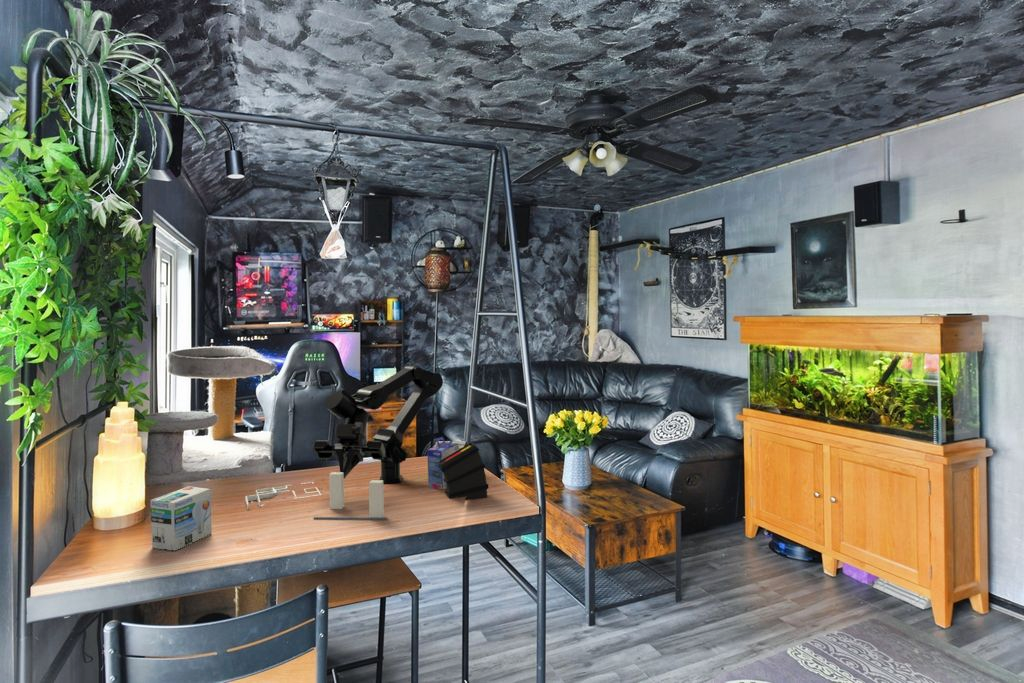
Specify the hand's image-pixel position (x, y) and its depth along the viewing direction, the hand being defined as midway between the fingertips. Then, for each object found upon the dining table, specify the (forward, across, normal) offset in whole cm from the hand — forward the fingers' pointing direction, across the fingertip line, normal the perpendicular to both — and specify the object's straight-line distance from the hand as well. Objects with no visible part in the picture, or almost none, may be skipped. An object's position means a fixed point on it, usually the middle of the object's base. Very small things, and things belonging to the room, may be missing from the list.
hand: (342, 477), depth 151 cm
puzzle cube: (-14, +24, +26) cm, 38 cm away
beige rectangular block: (+12, +12, -3) cm, 18 cm away
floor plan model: (+4, -17, +8) cm, 20 cm away
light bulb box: (+22, -28, -11) cm, 38 cm away
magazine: (0, +31, +11) cm, 33 cm away
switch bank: (+10, +6, +1) cm, 12 cm away
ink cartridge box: (-7, +24, +18) cm, 31 cm away
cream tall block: (+8, 0, +2) cm, 8 cm away
